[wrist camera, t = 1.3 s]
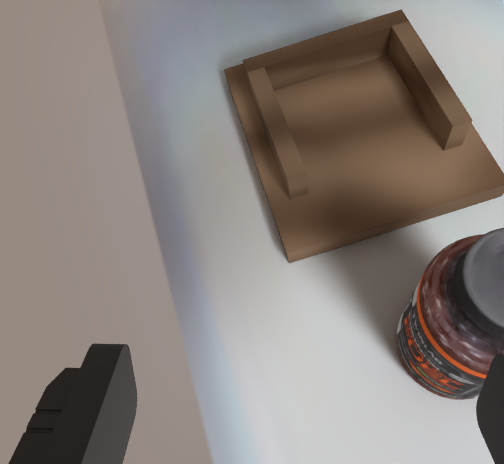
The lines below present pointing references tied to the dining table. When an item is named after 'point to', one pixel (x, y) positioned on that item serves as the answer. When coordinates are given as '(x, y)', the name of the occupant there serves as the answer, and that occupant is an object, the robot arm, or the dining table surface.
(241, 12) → the dining table surface
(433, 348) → the supplement bottle
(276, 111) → the walnut dock
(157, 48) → the dining table surface
